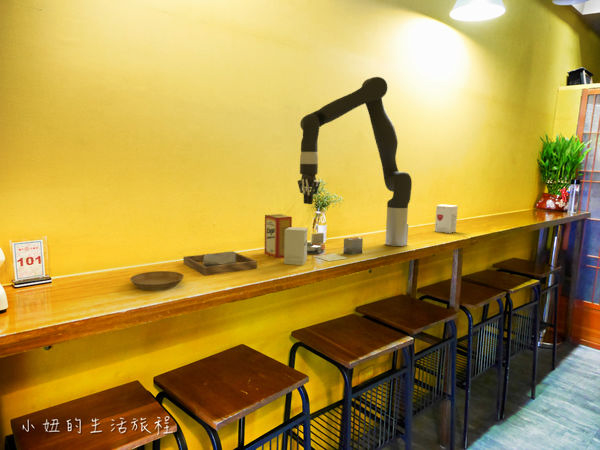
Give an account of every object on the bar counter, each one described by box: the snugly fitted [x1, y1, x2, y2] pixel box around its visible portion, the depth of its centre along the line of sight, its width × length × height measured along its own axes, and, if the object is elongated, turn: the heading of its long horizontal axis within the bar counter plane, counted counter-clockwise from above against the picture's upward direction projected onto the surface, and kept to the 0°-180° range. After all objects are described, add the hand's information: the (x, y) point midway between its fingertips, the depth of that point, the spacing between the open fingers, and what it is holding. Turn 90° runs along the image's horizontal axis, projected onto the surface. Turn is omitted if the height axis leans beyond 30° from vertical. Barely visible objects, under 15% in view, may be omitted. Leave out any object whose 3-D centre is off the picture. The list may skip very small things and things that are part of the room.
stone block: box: [202, 251, 237, 267], centre depth 147 cm, size 12×5×10 cm
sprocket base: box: [307, 250, 325, 255], centre depth 174 cm, size 13×13×1 cm
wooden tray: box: [182, 250, 258, 276], centre depth 146 cm, size 19×19×2 cm
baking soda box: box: [264, 213, 293, 259], centre depth 165 cm, size 10×6×16 cm
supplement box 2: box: [434, 203, 459, 234], centre depth 234 cm, size 9×9×15 cm
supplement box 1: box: [283, 226, 309, 266], centre depth 153 cm, size 7×7×13 cm
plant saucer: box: [129, 270, 184, 291], centre depth 122 cm, size 15×15×3 cm
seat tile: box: [312, 252, 349, 262], centre depth 163 cm, size 10×10×1 cm
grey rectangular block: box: [342, 236, 364, 256], centre depth 172 cm, size 9×4×6 cm, turn 125°
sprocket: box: [307, 232, 326, 253], centre depth 174 cm, size 14×14×6 cm
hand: (308, 203), depth 180 cm, fingers closed
